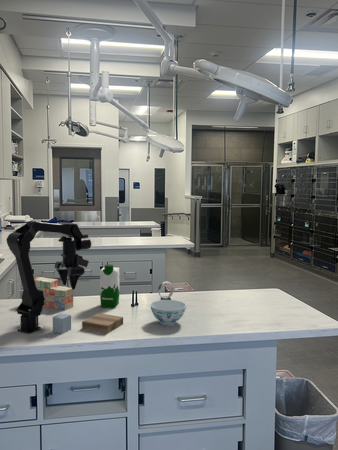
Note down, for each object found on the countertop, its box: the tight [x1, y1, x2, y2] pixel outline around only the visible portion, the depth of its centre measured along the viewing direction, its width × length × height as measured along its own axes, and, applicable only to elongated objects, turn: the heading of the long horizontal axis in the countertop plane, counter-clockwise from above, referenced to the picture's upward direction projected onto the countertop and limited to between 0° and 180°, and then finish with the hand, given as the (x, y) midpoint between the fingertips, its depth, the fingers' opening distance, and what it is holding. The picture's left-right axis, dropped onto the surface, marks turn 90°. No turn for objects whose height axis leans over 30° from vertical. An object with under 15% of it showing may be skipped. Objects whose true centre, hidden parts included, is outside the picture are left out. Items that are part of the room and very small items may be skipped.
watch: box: [156, 281, 175, 300], centre depth 197 cm, size 6×8×11 cm
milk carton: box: [99, 264, 120, 309], centre depth 193 cm, size 9×9×20 cm
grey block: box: [52, 313, 72, 335], centre depth 159 cm, size 5×5×6 cm
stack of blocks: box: [34, 276, 74, 311], centre depth 192 cm, size 21×6×12 cm, turn 63°
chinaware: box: [149, 299, 187, 326], centre depth 170 cm, size 15×15×8 cm
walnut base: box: [81, 312, 124, 334], centre depth 165 cm, size 12×12×3 cm
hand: (69, 287), depth 175 cm, fingers open, 9 cm apart
